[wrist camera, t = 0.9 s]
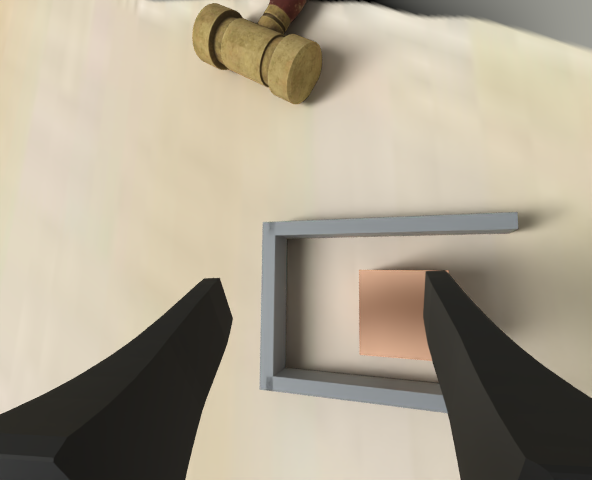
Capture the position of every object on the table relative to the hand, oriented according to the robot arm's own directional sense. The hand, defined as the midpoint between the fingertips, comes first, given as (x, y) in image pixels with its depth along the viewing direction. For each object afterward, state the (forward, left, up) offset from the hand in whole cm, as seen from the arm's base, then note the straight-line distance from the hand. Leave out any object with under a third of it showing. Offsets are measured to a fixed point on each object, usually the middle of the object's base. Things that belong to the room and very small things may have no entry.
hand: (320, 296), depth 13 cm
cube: (-1, -2, -14) cm, 15 cm away
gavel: (+25, +5, -15) cm, 30 cm away
